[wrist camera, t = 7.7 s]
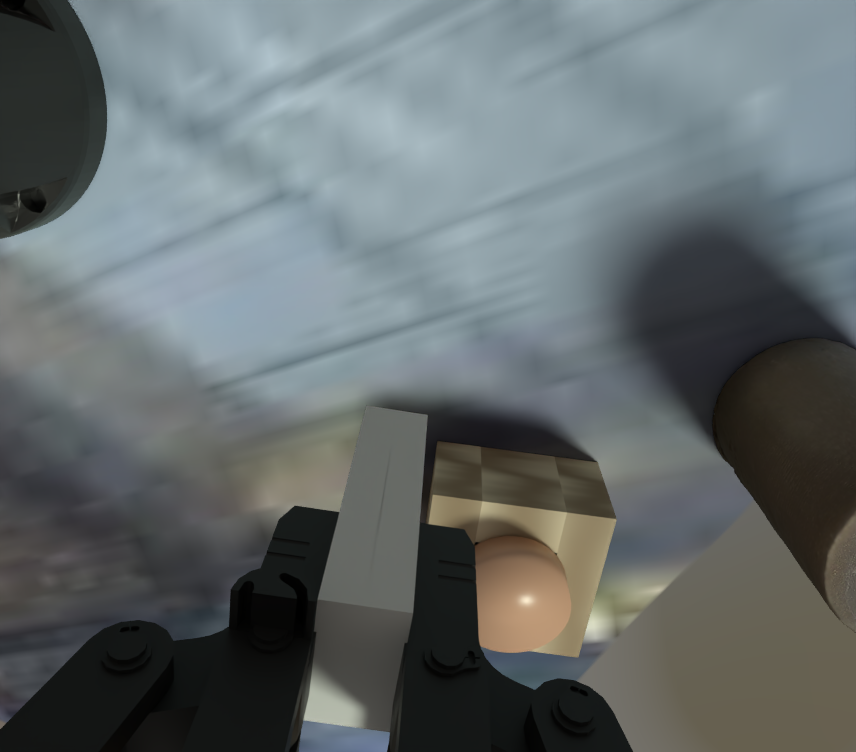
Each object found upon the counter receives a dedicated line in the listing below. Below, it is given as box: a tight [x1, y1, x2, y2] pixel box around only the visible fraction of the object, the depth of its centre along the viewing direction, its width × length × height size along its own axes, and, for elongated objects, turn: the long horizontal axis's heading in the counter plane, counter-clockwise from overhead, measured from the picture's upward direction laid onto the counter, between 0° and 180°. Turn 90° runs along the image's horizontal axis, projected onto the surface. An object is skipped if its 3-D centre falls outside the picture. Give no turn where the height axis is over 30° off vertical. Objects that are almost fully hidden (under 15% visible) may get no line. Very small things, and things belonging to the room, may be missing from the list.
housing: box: [426, 441, 617, 657], centre depth 42 cm, size 10×10×6 cm
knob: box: [475, 536, 571, 653], centre depth 41 cm, size 6×6×8 cm
